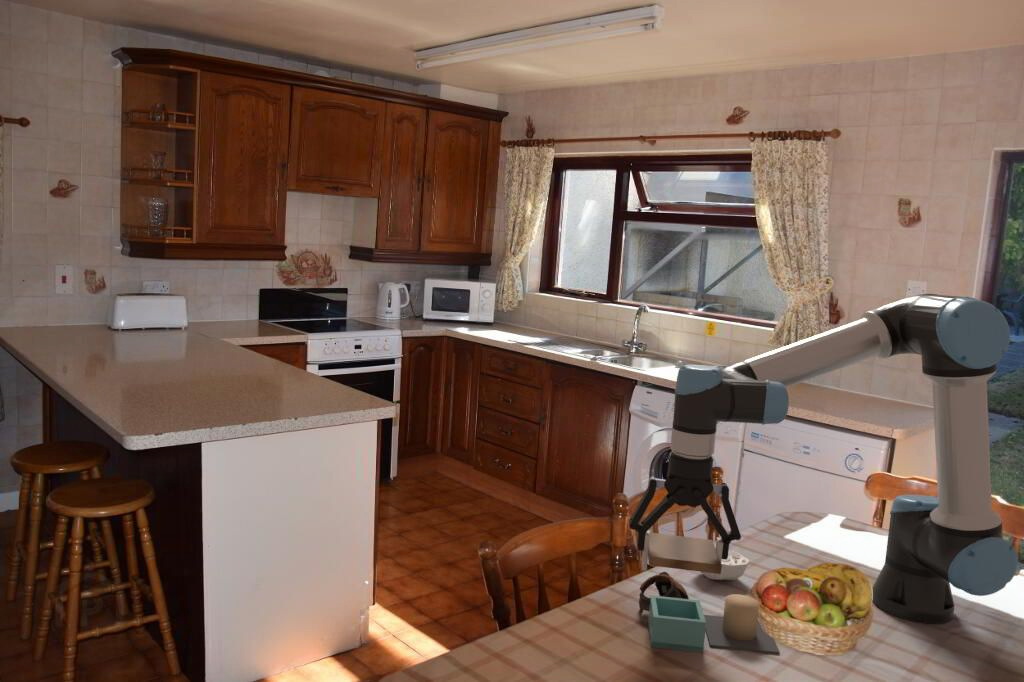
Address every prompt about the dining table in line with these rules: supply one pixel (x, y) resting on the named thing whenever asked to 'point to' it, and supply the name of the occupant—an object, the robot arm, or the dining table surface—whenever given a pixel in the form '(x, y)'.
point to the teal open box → (676, 624)
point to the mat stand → (739, 627)
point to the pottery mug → (661, 589)
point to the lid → (683, 553)
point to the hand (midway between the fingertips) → (679, 571)
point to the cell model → (731, 567)
